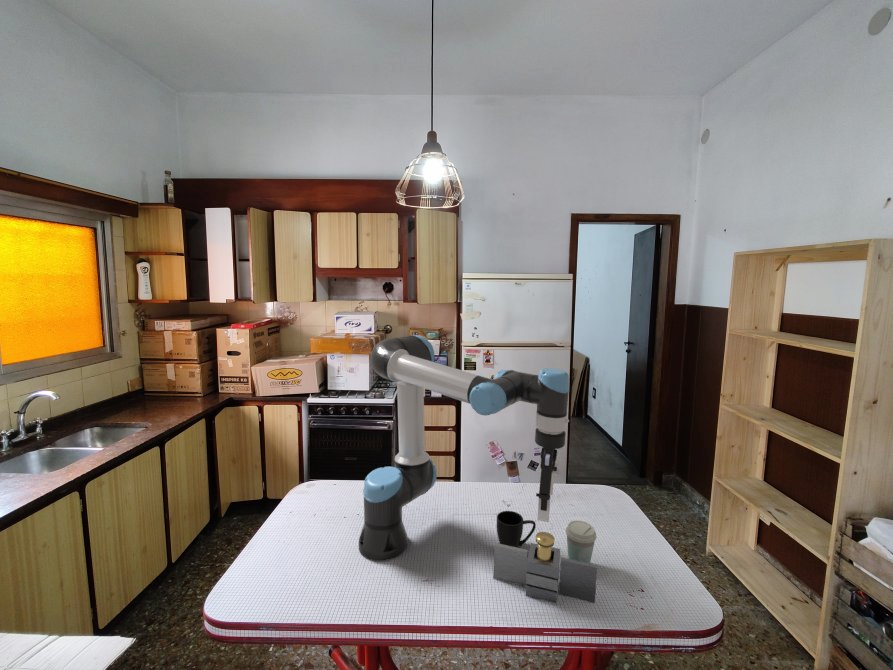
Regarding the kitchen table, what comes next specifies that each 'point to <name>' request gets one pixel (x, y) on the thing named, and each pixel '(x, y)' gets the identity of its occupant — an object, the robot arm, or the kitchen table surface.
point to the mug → (512, 528)
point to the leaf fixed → (562, 577)
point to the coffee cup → (580, 540)
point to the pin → (544, 546)
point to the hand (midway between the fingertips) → (545, 506)
